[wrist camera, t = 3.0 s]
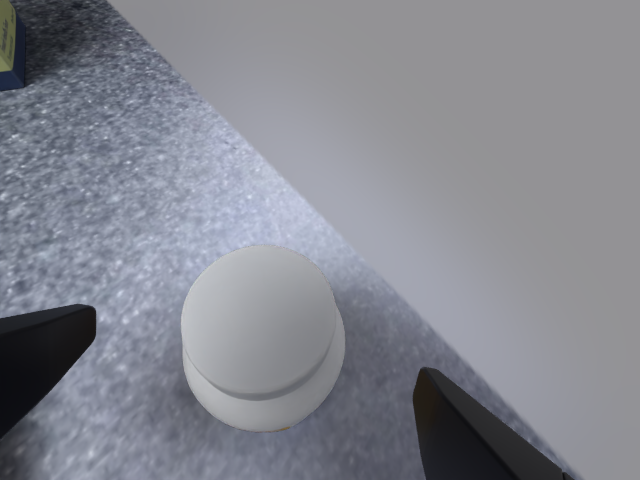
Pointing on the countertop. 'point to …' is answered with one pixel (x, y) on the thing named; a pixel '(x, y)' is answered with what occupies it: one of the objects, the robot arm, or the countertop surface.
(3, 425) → the robot arm
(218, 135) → the countertop surface
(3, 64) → the protein box
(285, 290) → the supplement bottle
